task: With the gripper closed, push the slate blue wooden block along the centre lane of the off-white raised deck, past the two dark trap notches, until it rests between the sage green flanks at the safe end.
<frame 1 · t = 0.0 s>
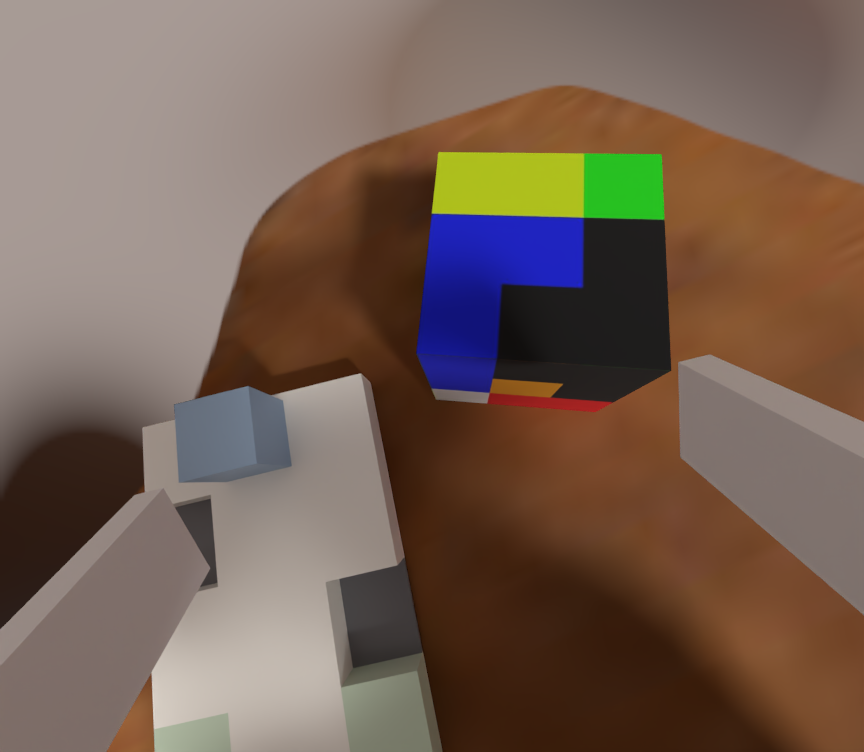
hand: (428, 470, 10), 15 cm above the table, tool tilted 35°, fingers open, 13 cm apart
block: (255, 440, 24), point 2 cm above the table, touching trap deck
puzzle toy: (517, 333, 27), on the table
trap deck: (290, 574, 25), on the table
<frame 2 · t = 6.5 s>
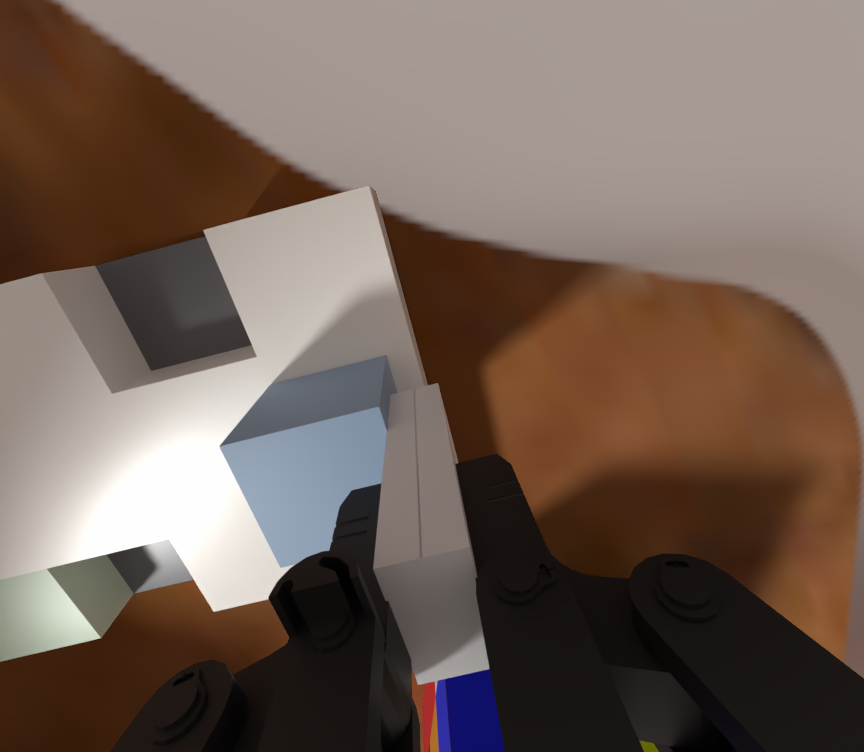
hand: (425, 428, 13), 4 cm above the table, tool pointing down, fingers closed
block: (346, 421, 14), point 3 cm above the table, touching gripper
puzzle toy: (517, 647, 23), on the table
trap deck: (179, 437, 17), on the table
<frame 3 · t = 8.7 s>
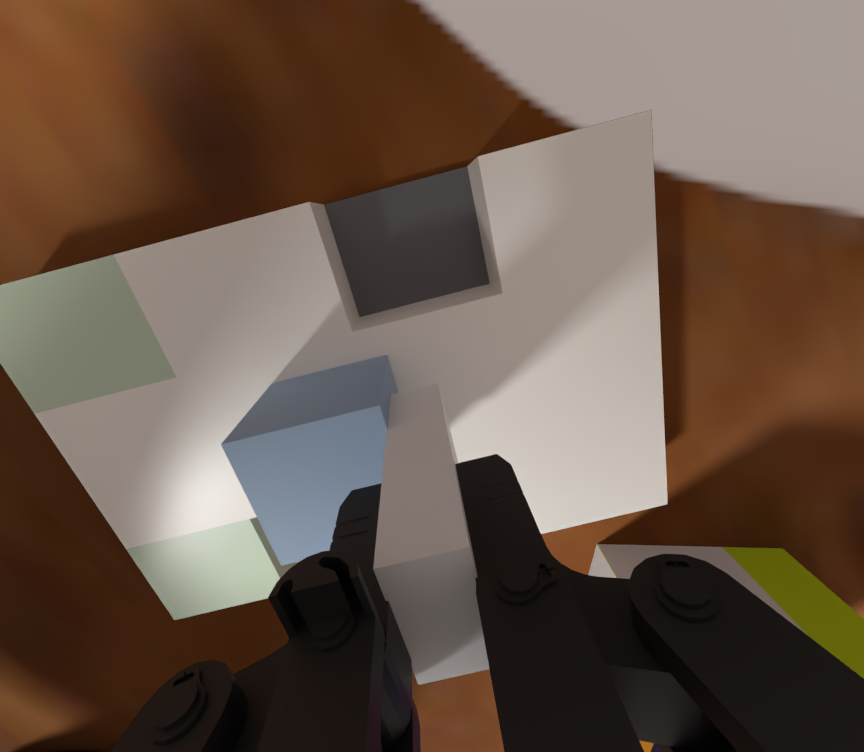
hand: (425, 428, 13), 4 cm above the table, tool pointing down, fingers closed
block: (347, 420, 14), point 3 cm above the table, touching gripper
puzzle toy: (661, 613, 23), on the table
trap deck: (370, 388, 17), on the table
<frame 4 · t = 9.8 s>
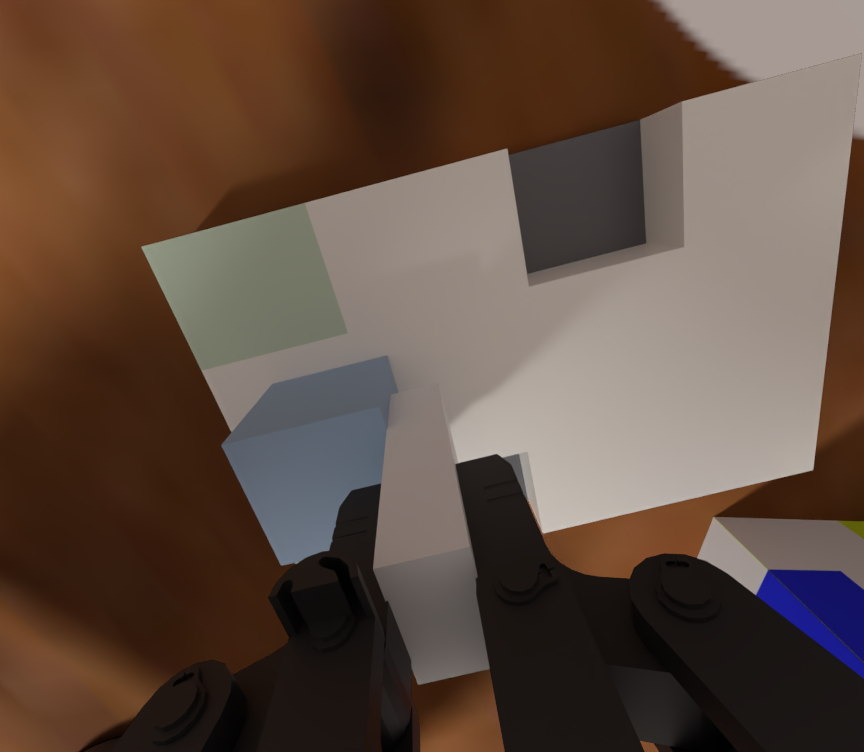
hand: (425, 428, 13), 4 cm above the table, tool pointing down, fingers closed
block: (347, 421, 14), point 3 cm above the table, touching gripper
puzzle toy: (765, 589, 22), on the table
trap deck: (511, 353, 16), on the table
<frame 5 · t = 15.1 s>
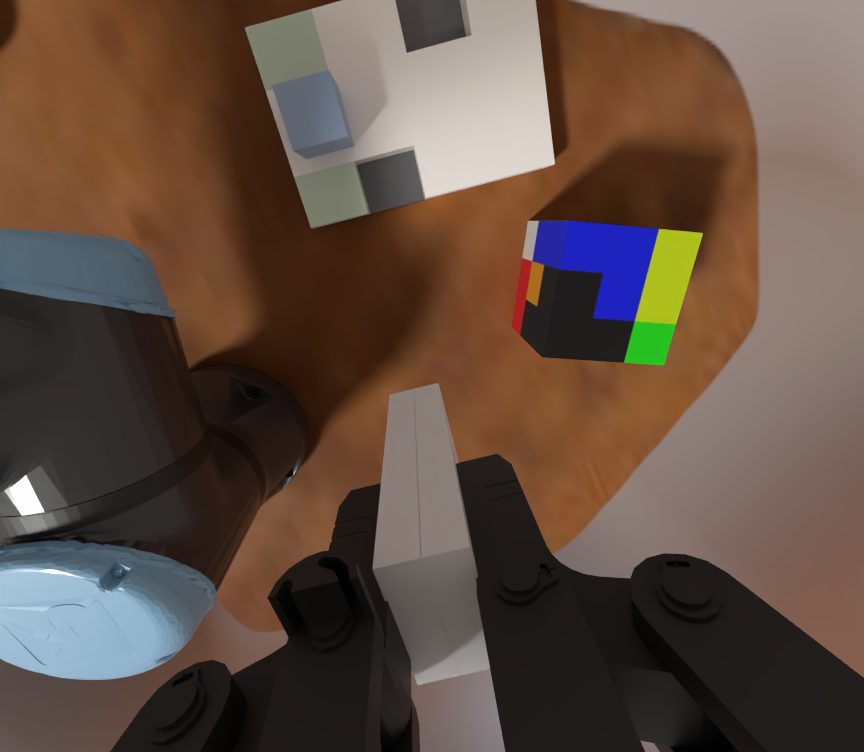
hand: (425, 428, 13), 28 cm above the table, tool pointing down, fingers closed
block: (321, 124, 32), point 2 cm above the table, touching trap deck
puzzle toy: (568, 279, 40), on the table
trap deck: (410, 109, 34), on the table
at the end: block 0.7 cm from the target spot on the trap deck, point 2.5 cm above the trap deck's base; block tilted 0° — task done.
